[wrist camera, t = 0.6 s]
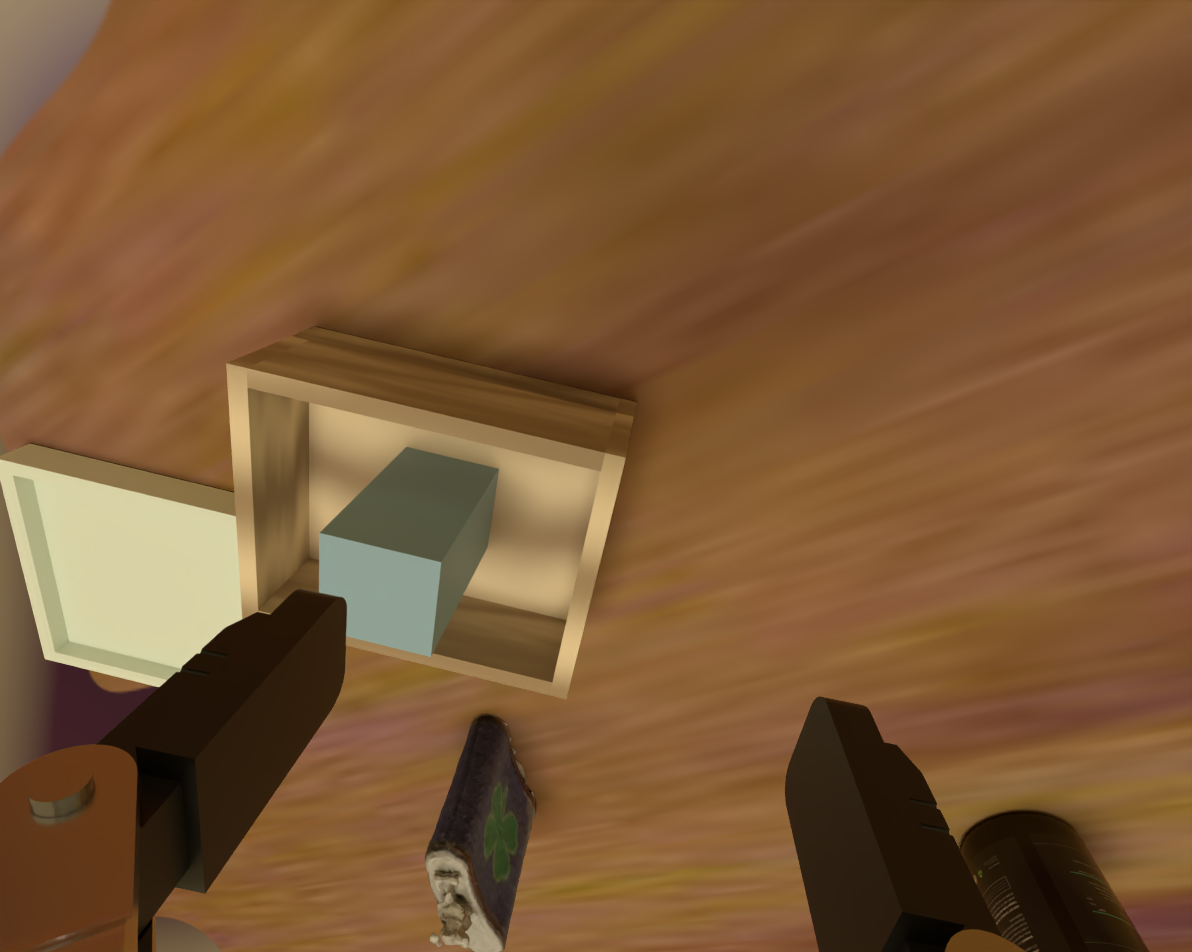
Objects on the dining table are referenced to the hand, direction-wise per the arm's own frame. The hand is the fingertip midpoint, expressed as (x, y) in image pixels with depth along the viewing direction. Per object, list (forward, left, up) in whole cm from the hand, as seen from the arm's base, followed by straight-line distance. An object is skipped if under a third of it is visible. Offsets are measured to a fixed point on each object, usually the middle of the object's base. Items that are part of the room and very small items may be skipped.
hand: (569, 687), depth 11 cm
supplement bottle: (+24, +30, -20) cm, 43 cm away
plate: (+19, -24, -20) cm, 37 cm away
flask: (+28, -2, -20) cm, 35 cm away
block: (+8, -7, -18) cm, 21 cm away
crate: (+8, -7, -20) cm, 23 cm away
